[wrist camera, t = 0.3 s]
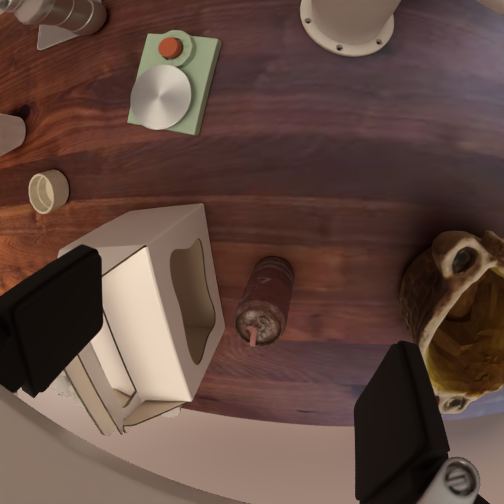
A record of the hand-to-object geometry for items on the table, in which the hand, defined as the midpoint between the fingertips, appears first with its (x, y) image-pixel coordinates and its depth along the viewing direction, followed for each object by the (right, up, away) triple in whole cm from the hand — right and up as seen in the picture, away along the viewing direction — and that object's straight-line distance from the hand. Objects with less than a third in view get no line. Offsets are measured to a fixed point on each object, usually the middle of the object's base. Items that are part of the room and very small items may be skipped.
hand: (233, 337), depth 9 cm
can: (+4, -1, +39) cm, 39 cm away
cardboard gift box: (-12, -1, +42) cm, 44 cm away
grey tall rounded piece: (-25, +41, +28) cm, 55 cm away
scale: (-10, +27, +31) cm, 42 cm away
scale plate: (-12, +23, +29) cm, 39 cm away
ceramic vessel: (+30, 0, +33) cm, 45 cm away
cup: (-46, +27, +38) cm, 66 cm away
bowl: (-35, +14, +41) cm, 56 cm away
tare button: (-10, +29, +26) cm, 40 cm away
